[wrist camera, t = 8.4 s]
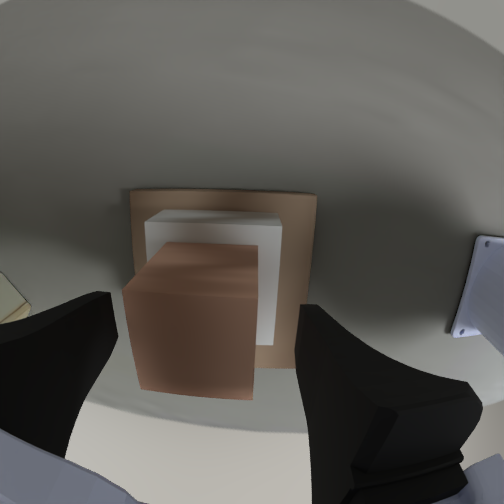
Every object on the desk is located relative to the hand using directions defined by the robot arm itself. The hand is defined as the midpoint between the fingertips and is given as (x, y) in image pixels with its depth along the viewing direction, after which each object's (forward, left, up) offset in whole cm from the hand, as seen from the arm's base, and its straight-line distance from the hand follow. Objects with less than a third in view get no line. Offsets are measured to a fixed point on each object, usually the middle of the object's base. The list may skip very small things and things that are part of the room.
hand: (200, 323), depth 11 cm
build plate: (0, +1, -7) cm, 7 cm away
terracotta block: (0, 0, -3) cm, 3 cm away
